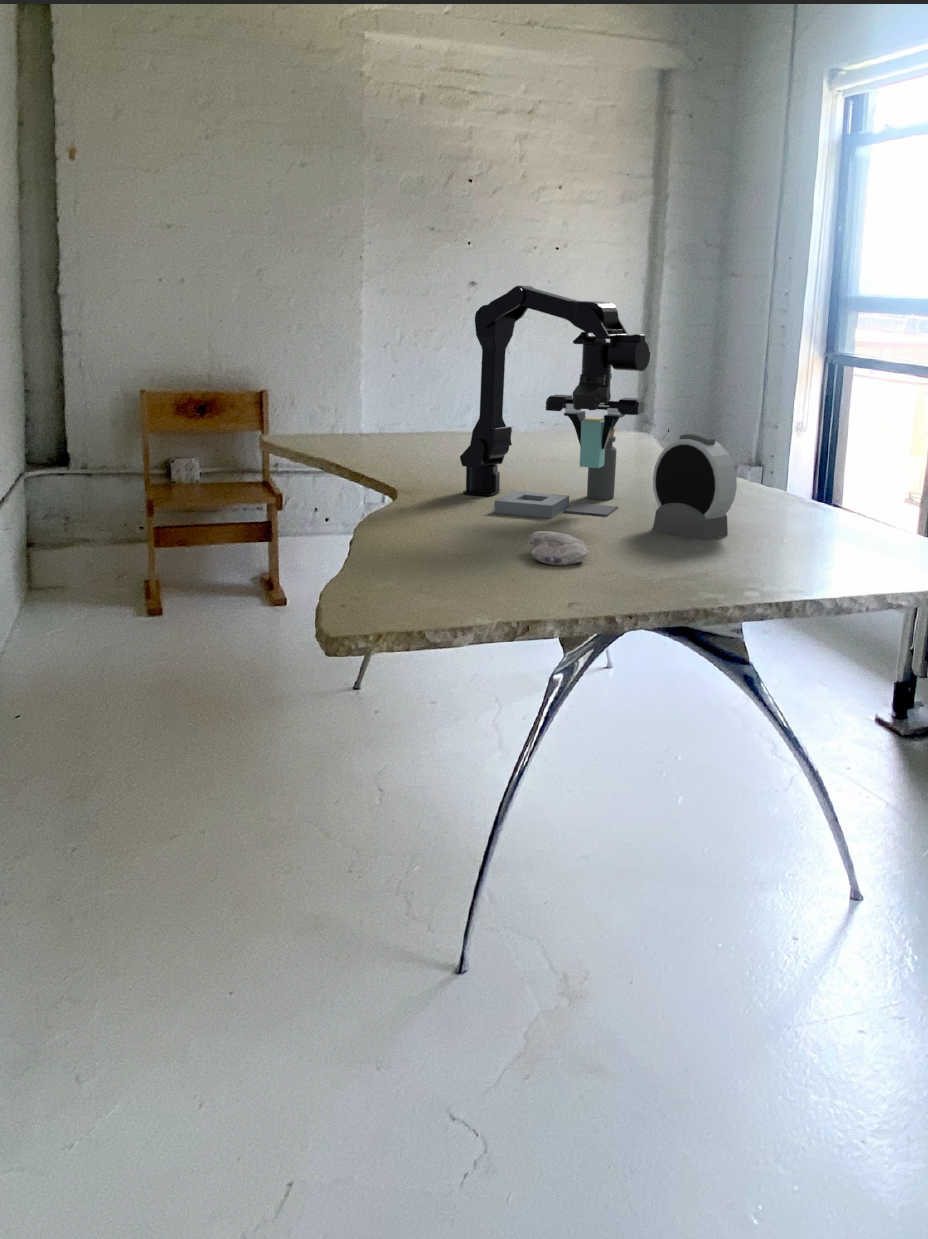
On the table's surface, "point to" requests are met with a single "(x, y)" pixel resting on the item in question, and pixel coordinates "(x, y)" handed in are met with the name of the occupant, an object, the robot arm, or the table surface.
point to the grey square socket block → (531, 504)
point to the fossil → (557, 548)
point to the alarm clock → (694, 488)
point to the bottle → (603, 475)
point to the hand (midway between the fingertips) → (592, 448)
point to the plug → (592, 443)
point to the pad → (591, 509)
